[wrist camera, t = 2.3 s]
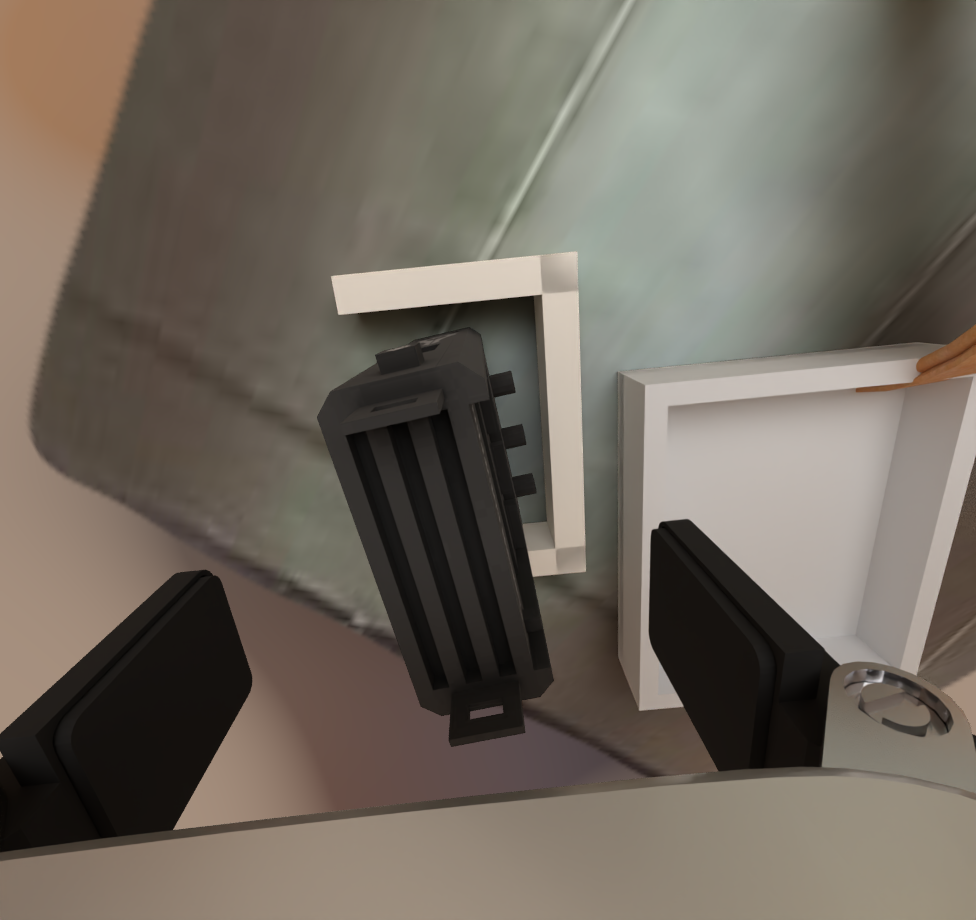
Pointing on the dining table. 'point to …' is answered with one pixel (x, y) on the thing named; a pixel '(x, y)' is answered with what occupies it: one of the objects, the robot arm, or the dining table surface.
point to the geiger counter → (444, 526)
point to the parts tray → (798, 492)
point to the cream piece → (558, 371)
